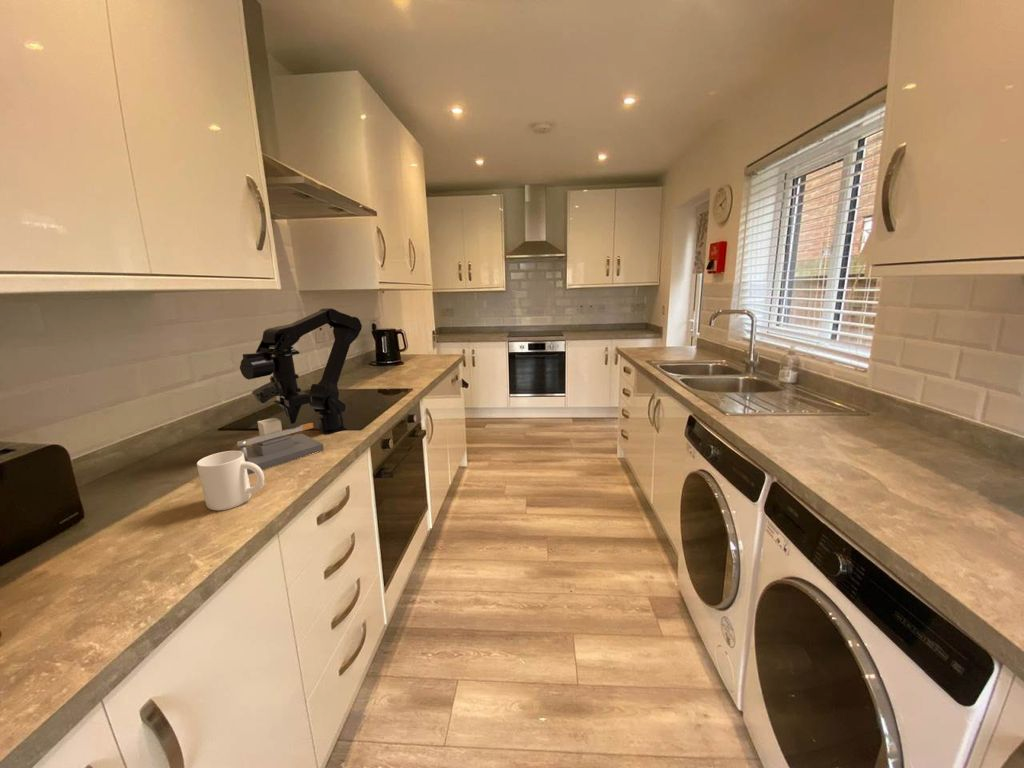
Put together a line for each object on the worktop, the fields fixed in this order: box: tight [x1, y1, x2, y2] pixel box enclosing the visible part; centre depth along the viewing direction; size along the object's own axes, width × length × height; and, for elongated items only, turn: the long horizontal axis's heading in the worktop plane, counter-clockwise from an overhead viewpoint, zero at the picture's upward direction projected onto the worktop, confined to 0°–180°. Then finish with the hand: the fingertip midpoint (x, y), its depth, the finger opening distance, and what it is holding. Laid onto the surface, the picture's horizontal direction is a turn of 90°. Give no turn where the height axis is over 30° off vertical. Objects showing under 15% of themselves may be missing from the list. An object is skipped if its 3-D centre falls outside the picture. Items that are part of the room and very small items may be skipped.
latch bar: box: [236, 422, 315, 448], centre depth 111 cm, size 19×2×1 cm, turn 139°
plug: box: [253, 417, 291, 445], centre depth 113 cm, size 7×7×8 cm
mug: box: [196, 450, 265, 512], centre depth 88 cm, size 12×8×10 cm
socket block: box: [237, 432, 325, 476], centre depth 113 cm, size 20×15×6 cm
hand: (292, 423), depth 121 cm, fingers closed
